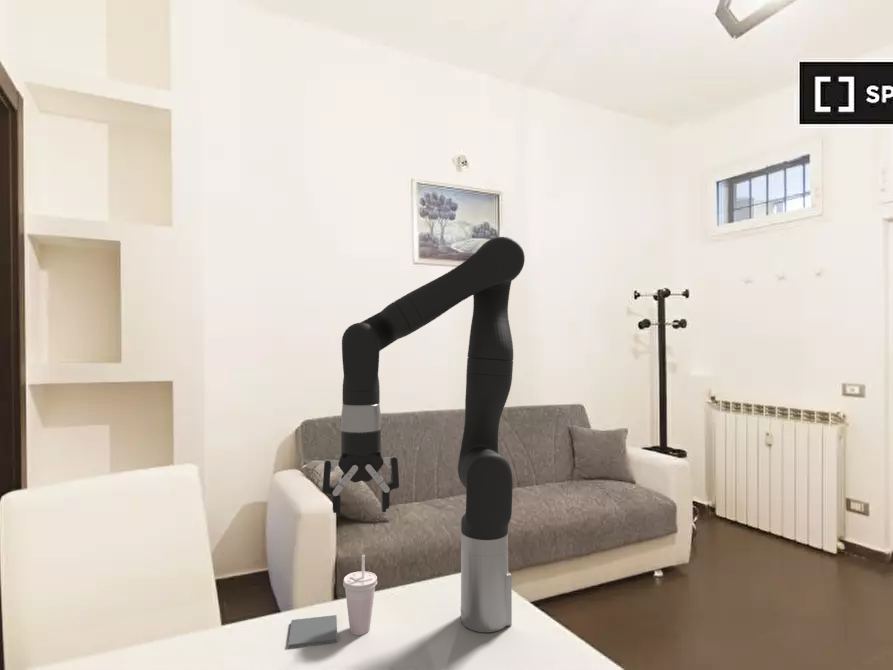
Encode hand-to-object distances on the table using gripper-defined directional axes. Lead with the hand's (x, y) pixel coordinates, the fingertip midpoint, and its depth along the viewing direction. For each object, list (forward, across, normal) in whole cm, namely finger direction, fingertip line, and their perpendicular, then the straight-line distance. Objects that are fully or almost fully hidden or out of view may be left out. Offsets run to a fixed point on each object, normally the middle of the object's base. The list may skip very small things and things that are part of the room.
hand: (361, 512), depth 98 cm
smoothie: (+22, 0, 0) cm, 22 cm away
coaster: (+22, +9, -1) cm, 23 cm away
